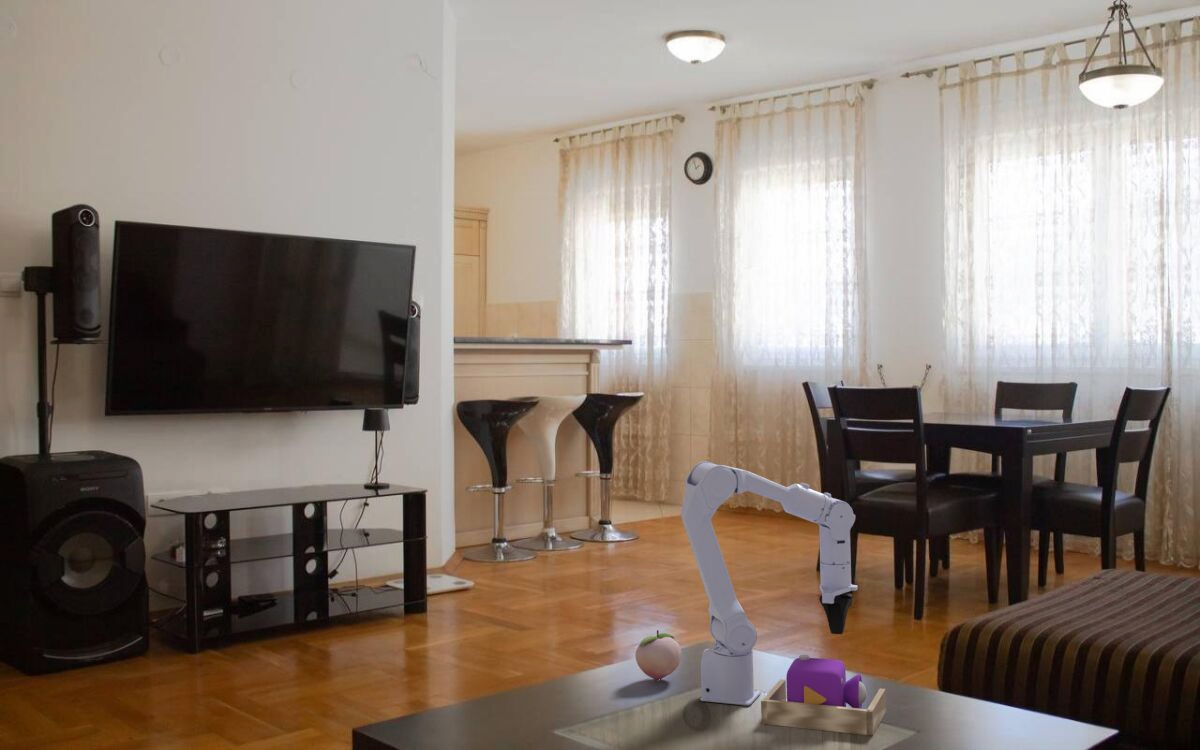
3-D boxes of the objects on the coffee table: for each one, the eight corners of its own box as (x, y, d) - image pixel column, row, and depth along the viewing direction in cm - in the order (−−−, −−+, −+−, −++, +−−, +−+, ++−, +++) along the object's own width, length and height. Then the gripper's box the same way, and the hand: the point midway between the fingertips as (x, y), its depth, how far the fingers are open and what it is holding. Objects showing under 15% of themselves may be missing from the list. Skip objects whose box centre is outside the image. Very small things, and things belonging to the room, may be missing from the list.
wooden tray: (761, 723, 193) (761, 700, 193) (780, 701, 205) (780, 679, 205) (872, 735, 185) (872, 711, 185) (886, 711, 197) (885, 688, 197)
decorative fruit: (663, 690, 213) (661, 638, 213) (629, 683, 219) (628, 633, 218) (691, 678, 221) (689, 628, 221) (657, 671, 226) (656, 622, 226)
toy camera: (869, 728, 189) (868, 669, 188) (788, 727, 191) (786, 669, 190) (863, 708, 199) (862, 652, 199) (786, 707, 201) (784, 652, 201)
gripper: (848, 570, 203) (850, 644, 203) (864, 556, 216) (865, 625, 217) (810, 568, 206) (812, 641, 206) (827, 554, 219) (829, 622, 219)
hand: (837, 633), depth 212 cm, fingers closed
